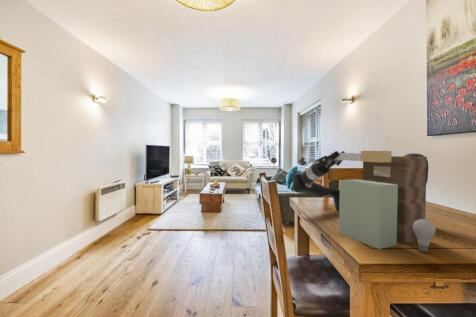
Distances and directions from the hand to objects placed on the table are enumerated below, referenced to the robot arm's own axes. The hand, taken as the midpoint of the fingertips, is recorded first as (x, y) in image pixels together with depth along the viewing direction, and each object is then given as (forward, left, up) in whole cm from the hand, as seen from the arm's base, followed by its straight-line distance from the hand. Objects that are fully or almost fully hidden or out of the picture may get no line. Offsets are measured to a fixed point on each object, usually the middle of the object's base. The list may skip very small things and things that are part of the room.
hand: (340, 153), depth 103 cm
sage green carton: (-1, +13, -33) cm, 35 cm away
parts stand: (-15, +13, -33) cm, 39 cm away
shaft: (0, +8, -3) cm, 9 cm away
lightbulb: (-8, +29, -33) cm, 45 cm away
